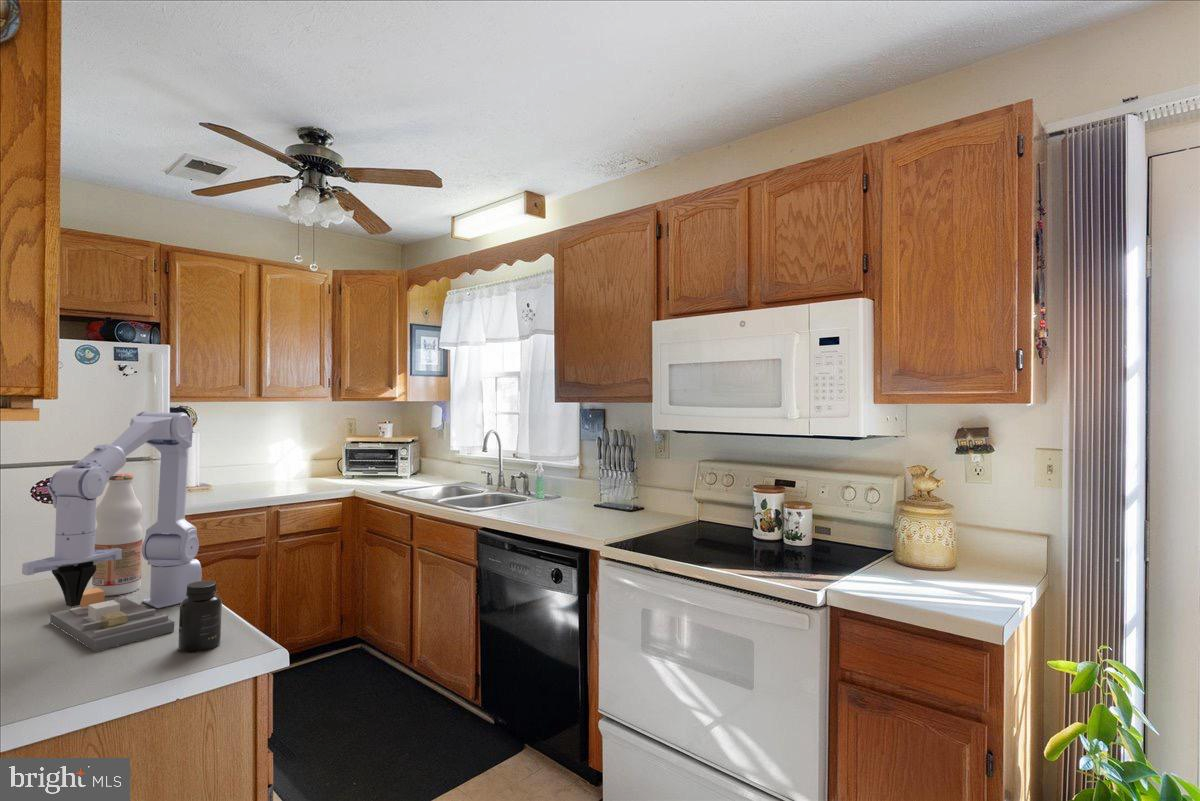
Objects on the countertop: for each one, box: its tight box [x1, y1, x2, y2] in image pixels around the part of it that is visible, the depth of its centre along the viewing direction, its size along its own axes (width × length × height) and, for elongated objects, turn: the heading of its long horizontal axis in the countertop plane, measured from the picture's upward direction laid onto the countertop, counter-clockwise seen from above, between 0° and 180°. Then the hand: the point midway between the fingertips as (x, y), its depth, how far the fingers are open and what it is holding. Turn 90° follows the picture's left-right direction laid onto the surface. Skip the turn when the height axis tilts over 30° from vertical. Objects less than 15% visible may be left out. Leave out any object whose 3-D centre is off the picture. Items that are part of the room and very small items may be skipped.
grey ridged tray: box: [49, 597, 175, 652], centre depth 127 cm, size 13×24×3 cm, turn 56°
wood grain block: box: [101, 611, 128, 629], centre depth 122 cm, size 3×4×2 cm
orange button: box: [77, 587, 106, 608], centre depth 131 cm, size 4×4×2 cm
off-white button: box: [88, 599, 120, 621], centre depth 127 cm, size 4×4×2 cm
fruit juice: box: [91, 473, 144, 597], centre depth 151 cm, size 9×9×28 cm
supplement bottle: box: [178, 580, 223, 654], centre depth 119 cm, size 7×7×12 cm
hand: (72, 605), depth 116 cm, fingers closed
